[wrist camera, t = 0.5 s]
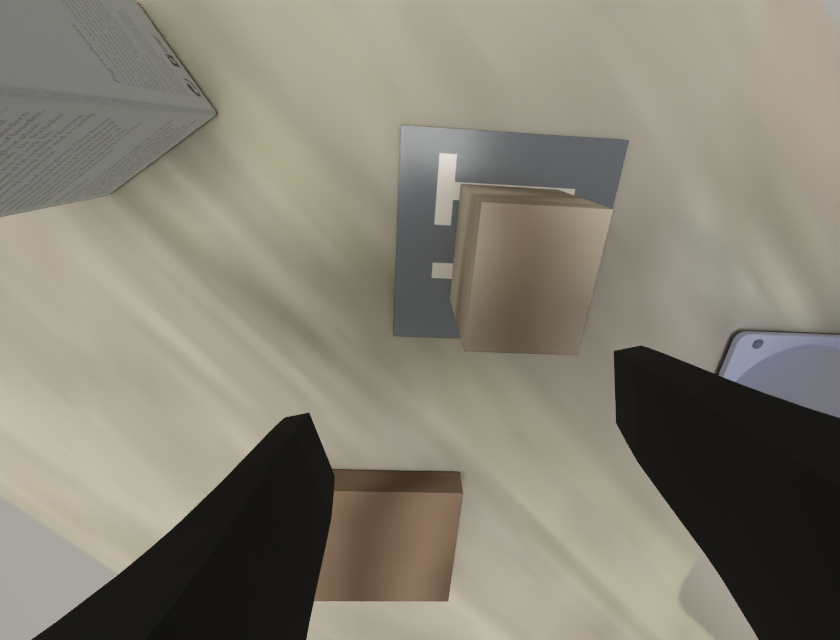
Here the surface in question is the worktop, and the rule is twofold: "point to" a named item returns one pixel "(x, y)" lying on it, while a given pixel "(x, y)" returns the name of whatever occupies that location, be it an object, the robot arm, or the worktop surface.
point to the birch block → (525, 268)
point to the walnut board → (391, 536)
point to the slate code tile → (481, 165)
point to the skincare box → (85, 100)
